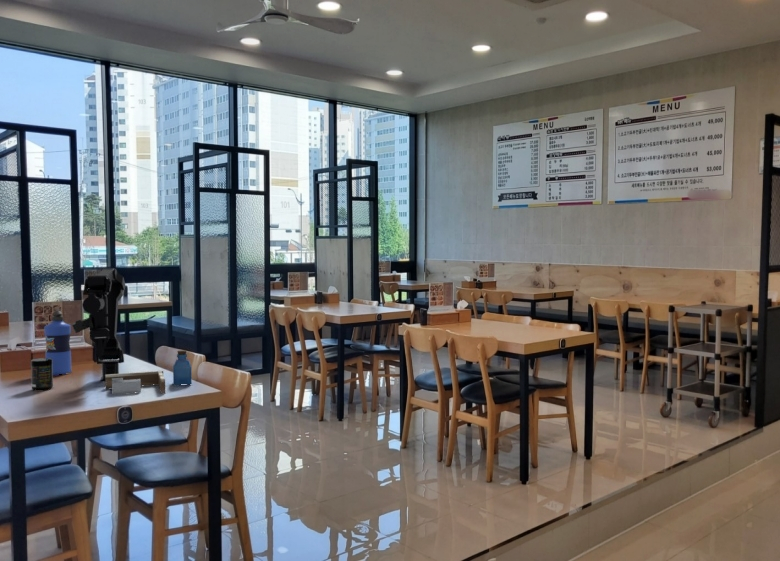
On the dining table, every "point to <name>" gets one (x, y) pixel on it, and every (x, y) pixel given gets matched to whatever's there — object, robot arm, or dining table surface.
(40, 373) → the supplement container
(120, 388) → the bracket
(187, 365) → the blue corked bottle
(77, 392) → the dining table surface
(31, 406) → the dining table surface
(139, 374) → the tan l-shaped wall
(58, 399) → the dining table surface
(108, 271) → the robot arm
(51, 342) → the water bottle
